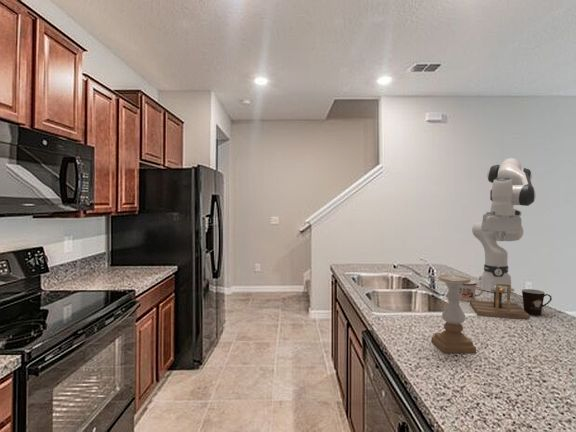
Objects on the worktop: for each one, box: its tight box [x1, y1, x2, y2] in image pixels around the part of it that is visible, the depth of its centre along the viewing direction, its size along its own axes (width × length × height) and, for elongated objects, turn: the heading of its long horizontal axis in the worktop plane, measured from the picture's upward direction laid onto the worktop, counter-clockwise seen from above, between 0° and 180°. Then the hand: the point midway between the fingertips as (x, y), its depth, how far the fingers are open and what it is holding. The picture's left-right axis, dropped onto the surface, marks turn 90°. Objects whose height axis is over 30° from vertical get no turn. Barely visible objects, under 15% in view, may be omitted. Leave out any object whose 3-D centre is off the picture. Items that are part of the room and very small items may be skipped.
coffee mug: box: [521, 288, 552, 316], centre depth 174 cm, size 12×9×10 cm
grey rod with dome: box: [491, 282, 506, 294], centre depth 180 cm, size 20×6×3 cm, turn 162°
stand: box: [469, 284, 530, 320], centre depth 178 cm, size 20×20×14 cm
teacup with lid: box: [460, 276, 483, 302], centre depth 199 cm, size 12×9×12 cm
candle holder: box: [431, 274, 477, 354], centre depth 134 cm, size 11×11×24 cm
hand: (500, 241), depth 186 cm, fingers closed
